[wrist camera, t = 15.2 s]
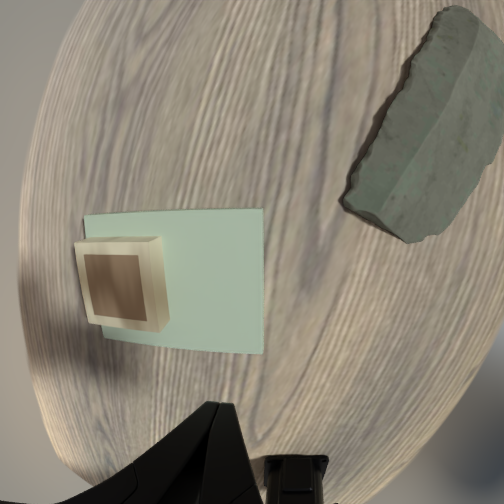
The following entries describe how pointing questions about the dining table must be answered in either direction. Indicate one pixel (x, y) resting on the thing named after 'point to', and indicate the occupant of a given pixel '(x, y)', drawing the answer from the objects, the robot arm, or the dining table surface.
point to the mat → (200, 275)
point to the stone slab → (435, 131)
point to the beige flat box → (124, 282)
